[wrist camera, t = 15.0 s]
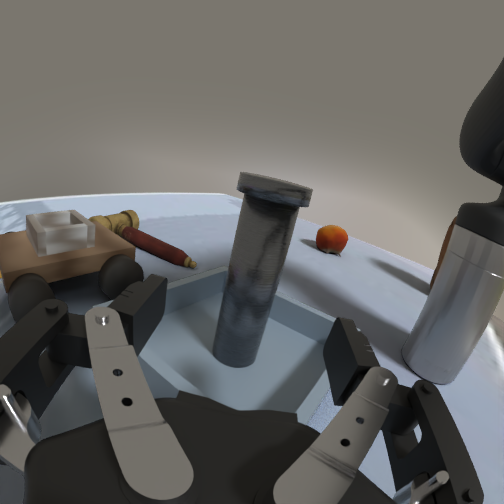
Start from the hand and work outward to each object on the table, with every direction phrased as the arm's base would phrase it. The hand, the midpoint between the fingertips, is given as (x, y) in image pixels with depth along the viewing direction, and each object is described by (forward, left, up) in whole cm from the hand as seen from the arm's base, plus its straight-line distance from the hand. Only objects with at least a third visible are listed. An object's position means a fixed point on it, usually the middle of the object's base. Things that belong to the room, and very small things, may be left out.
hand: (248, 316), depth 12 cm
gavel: (-17, -30, -11) cm, 37 cm away
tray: (-8, -4, -10) cm, 14 cm away
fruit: (-58, -11, -11) cm, 60 cm away
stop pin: (-8, -4, -9) cm, 13 cm away
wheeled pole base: (0, -25, -10) cm, 27 cm away
